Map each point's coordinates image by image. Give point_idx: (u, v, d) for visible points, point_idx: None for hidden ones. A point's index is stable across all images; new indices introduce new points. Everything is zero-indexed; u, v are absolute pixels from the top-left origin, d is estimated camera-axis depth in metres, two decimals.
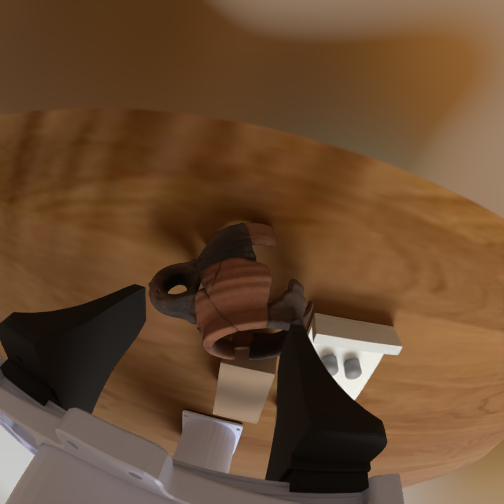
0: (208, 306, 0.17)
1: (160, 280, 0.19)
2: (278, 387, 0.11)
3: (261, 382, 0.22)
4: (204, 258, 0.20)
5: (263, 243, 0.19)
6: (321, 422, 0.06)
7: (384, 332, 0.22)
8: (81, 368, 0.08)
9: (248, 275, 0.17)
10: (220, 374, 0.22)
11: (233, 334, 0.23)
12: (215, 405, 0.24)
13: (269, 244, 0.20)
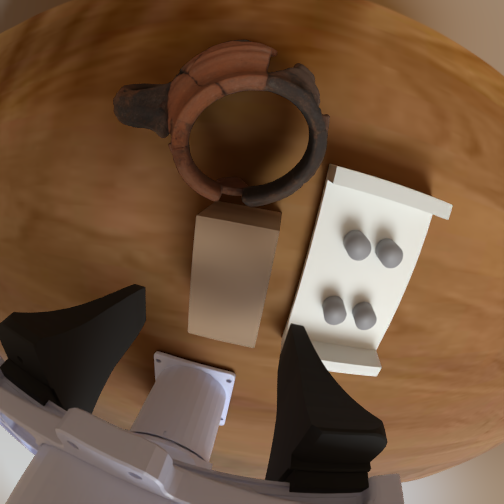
0: (185, 84, 0.11)
1: (131, 86, 0.12)
2: (278, 387, 0.11)
3: (258, 250, 0.15)
4: None
5: None
6: (321, 422, 0.06)
7: None
8: (81, 368, 0.08)
9: (241, 45, 0.10)
10: (196, 241, 0.15)
11: (221, 184, 0.17)
12: (190, 312, 0.17)
13: None
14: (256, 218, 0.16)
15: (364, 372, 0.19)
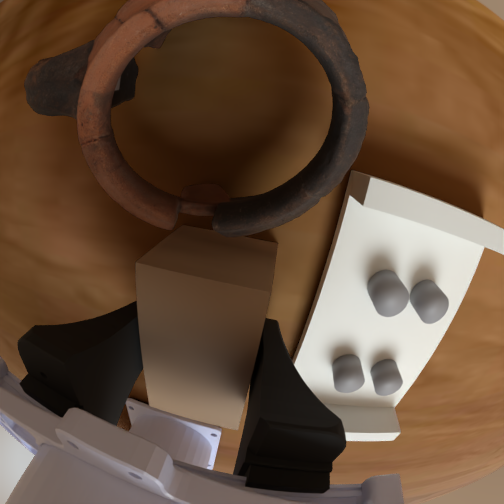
0: (109, 32, 0.05)
1: None
2: (250, 382, 0.11)
3: (237, 320, 0.09)
4: None
5: None
6: (271, 415, 0.06)
7: (481, 217, 0.09)
8: (108, 381, 0.08)
9: None
10: (140, 300, 0.09)
11: (187, 196, 0.10)
12: (148, 386, 0.11)
13: None
14: (235, 262, 0.10)
15: (378, 438, 0.13)
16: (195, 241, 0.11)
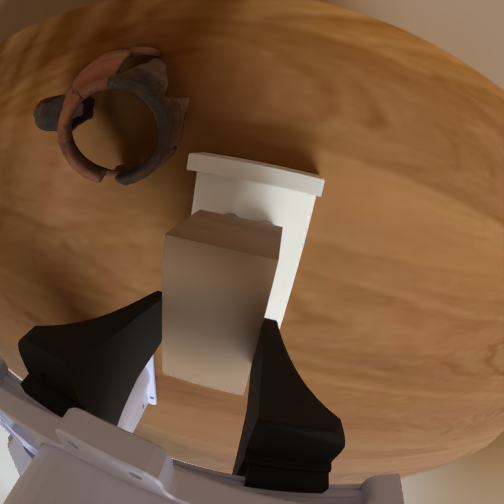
0: (69, 94, 0.12)
1: (47, 100, 0.13)
2: (250, 381, 0.11)
3: (249, 284, 0.11)
4: None
5: (140, 51, 0.14)
6: (270, 414, 0.06)
7: (300, 171, 0.17)
8: (109, 381, 0.08)
9: (107, 55, 0.11)
10: (166, 268, 0.11)
11: (115, 169, 0.18)
12: (164, 352, 0.13)
13: (147, 52, 0.14)
14: (248, 238, 0.12)
15: None
16: (213, 222, 0.13)
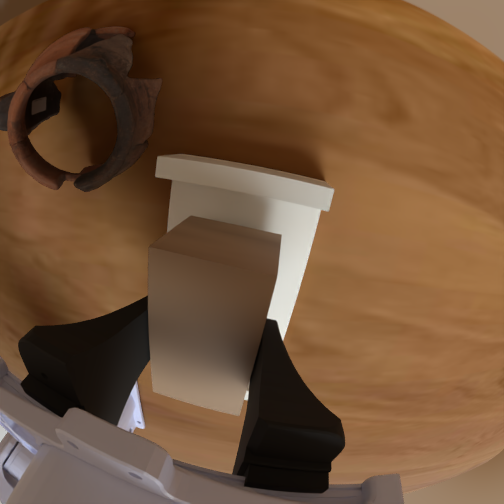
0: None
1: (7, 95, 0.10)
2: (250, 381, 0.11)
3: (244, 303, 0.10)
4: None
5: (109, 31, 0.10)
6: (269, 415, 0.06)
7: (301, 177, 0.13)
8: (109, 381, 0.08)
9: (64, 36, 0.08)
10: (151, 283, 0.10)
11: (80, 172, 0.14)
12: (153, 371, 0.12)
13: (116, 31, 0.10)
14: (242, 249, 0.11)
15: None
16: (204, 230, 0.12)
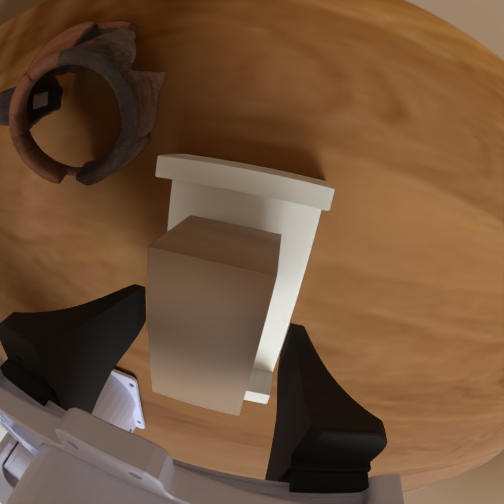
0: None
1: (9, 90, 0.09)
2: (278, 387, 0.11)
3: (243, 303, 0.10)
4: None
5: (111, 25, 0.10)
6: (321, 421, 0.06)
7: (302, 177, 0.13)
8: (81, 368, 0.08)
9: (67, 29, 0.07)
10: (150, 283, 0.10)
11: (81, 167, 0.14)
12: (153, 370, 0.12)
13: (119, 26, 0.10)
14: (242, 249, 0.11)
15: (248, 398, 0.17)
16: (204, 230, 0.12)
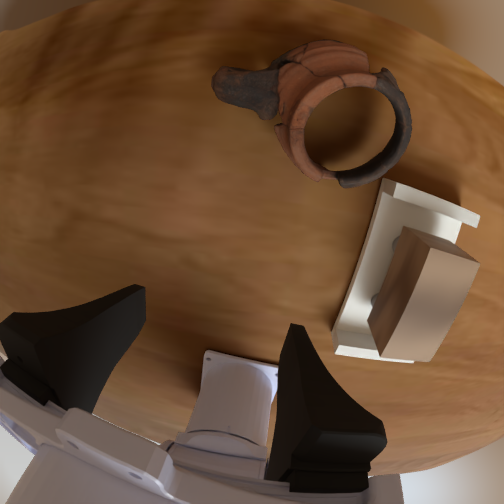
0: (300, 72, 0.12)
1: (229, 68, 0.13)
2: (278, 387, 0.11)
3: (464, 279, 0.14)
4: (281, 57, 0.14)
5: None
6: (321, 422, 0.06)
7: None
8: (81, 368, 0.08)
9: (342, 46, 0.11)
10: (423, 271, 0.14)
11: None
12: (392, 337, 0.16)
13: None
14: (454, 249, 0.15)
15: (403, 360, 0.21)
16: (426, 237, 0.16)
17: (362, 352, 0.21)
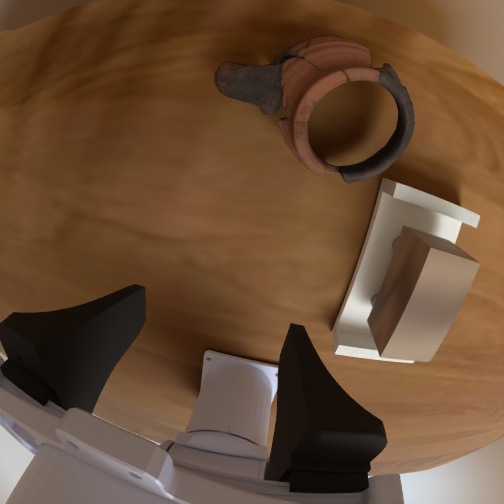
0: (303, 66, 0.12)
1: None
2: (278, 387, 0.11)
3: (464, 279, 0.14)
4: (283, 52, 0.14)
5: None
6: (321, 422, 0.06)
7: None
8: (81, 368, 0.08)
9: (345, 41, 0.11)
10: (423, 271, 0.14)
11: None
12: (392, 337, 0.16)
13: None
14: (454, 249, 0.15)
15: (403, 360, 0.21)
16: (426, 237, 0.16)
17: (362, 352, 0.21)
